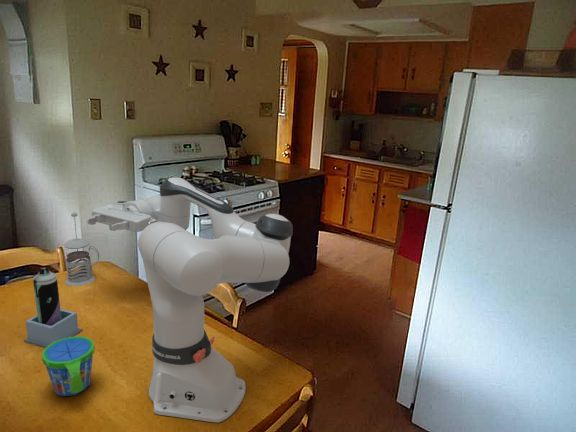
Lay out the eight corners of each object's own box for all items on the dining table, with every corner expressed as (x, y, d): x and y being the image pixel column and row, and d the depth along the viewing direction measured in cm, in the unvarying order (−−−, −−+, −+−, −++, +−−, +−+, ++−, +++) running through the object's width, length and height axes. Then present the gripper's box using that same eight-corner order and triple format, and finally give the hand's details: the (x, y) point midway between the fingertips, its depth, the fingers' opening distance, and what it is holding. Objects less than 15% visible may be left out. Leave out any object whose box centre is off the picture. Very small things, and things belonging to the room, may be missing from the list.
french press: (67, 275, 152) (60, 209, 145) (102, 272, 156) (97, 208, 148) (62, 287, 143) (54, 217, 136) (99, 284, 147) (93, 216, 140)
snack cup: (46, 372, 101) (41, 336, 98) (94, 361, 106) (90, 326, 103) (46, 416, 88) (41, 375, 85) (101, 401, 93) (97, 362, 90)
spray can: (53, 342, 112) (45, 273, 106) (35, 338, 113) (26, 270, 107) (67, 331, 117) (60, 265, 111) (50, 328, 118) (42, 262, 112)
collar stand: (82, 330, 119) (80, 312, 117) (53, 350, 110) (51, 330, 108) (54, 323, 122) (52, 305, 120) (23, 341, 112) (21, 322, 111)
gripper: (161, 229, 131) (125, 242, 119) (115, 218, 140) (78, 228, 128) (160, 210, 129) (124, 220, 117) (113, 200, 138) (76, 208, 126)
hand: (99, 224), depth 123 cm, fingers open, 8 cm apart
